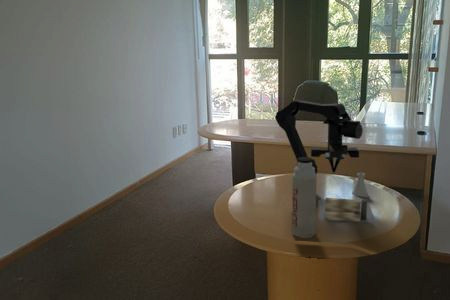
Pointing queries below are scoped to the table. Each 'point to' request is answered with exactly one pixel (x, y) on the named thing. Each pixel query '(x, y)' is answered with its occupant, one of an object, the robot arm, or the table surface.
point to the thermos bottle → (304, 198)
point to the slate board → (322, 217)
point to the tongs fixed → (348, 214)
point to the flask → (360, 186)
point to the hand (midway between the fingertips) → (333, 172)
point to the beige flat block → (341, 205)
